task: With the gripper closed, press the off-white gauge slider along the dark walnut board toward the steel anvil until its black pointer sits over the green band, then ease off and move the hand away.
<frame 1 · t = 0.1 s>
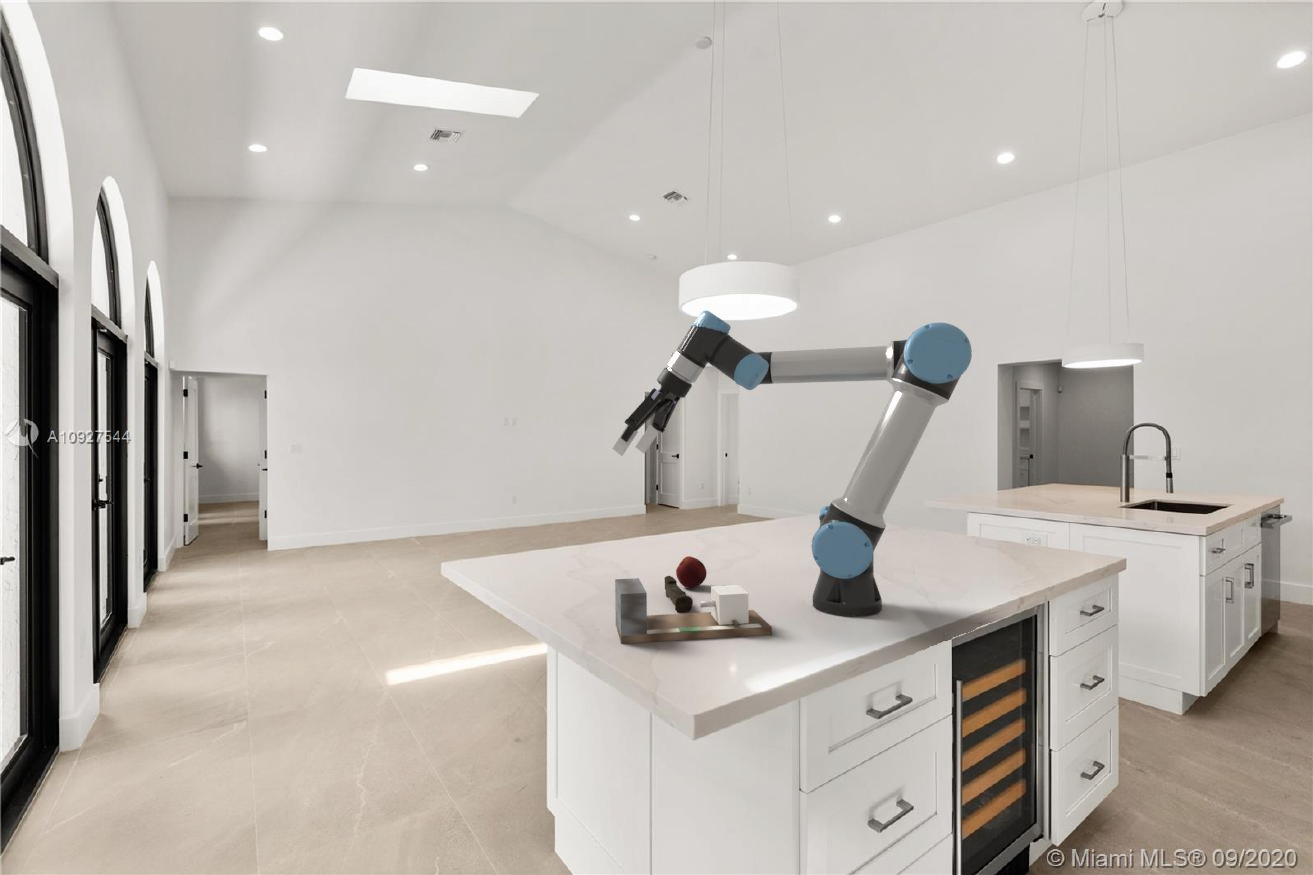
hand: (629, 451, 146), 36 cm above the counter, tool tilted 35°, fingers open, 13 cm apart
gauge slider: (723, 606, 128), point 5 cm above the counter, slide at 0.0 cm
hand tool: (673, 603, 149), on the counter
apple: (691, 588, 162), on the counter
gauge board: (691, 629, 128), on the counter
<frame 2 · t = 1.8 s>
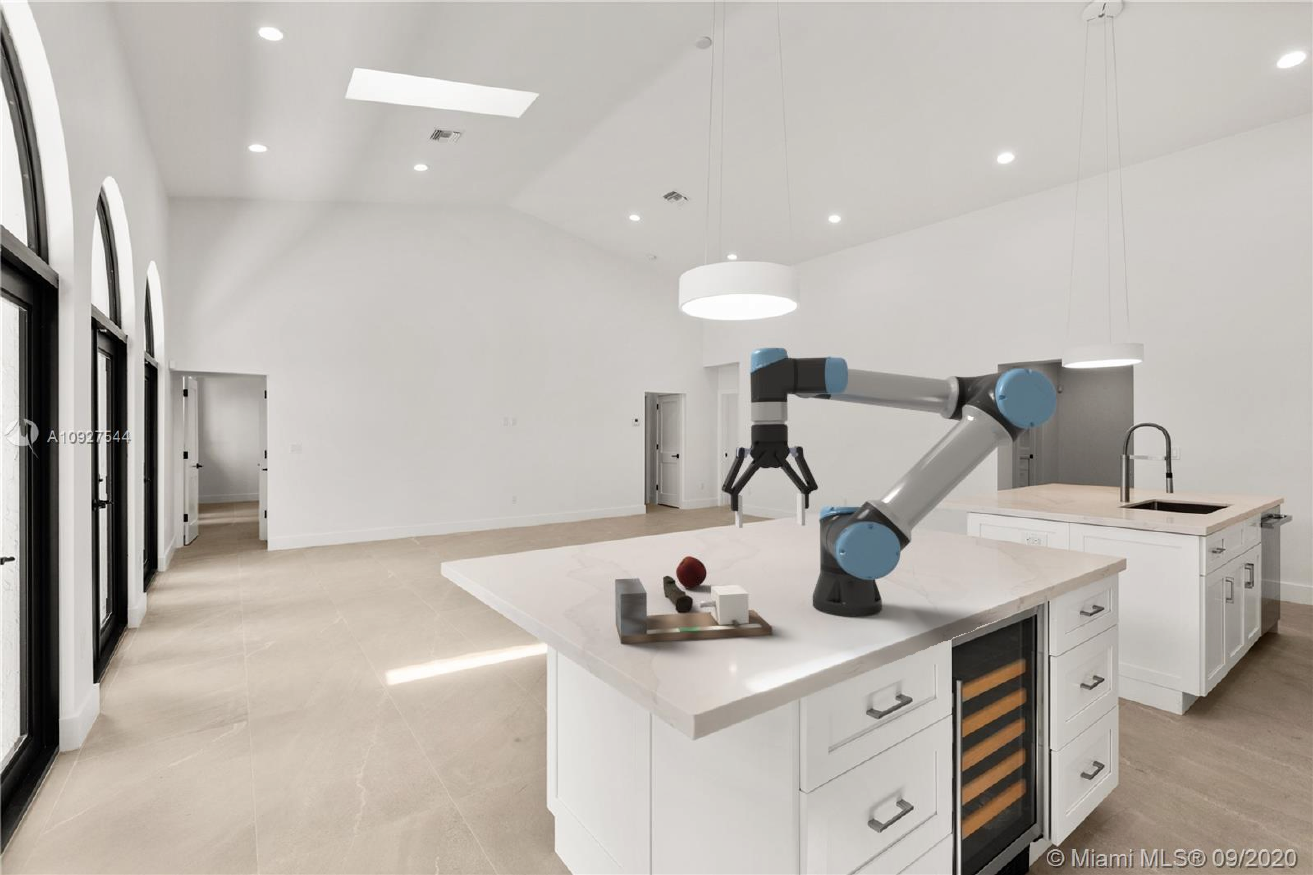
hand: (770, 526, 130), 21 cm above the counter, tool pointing down, fingers open, 13 cm apart
nothing on the counter moved.
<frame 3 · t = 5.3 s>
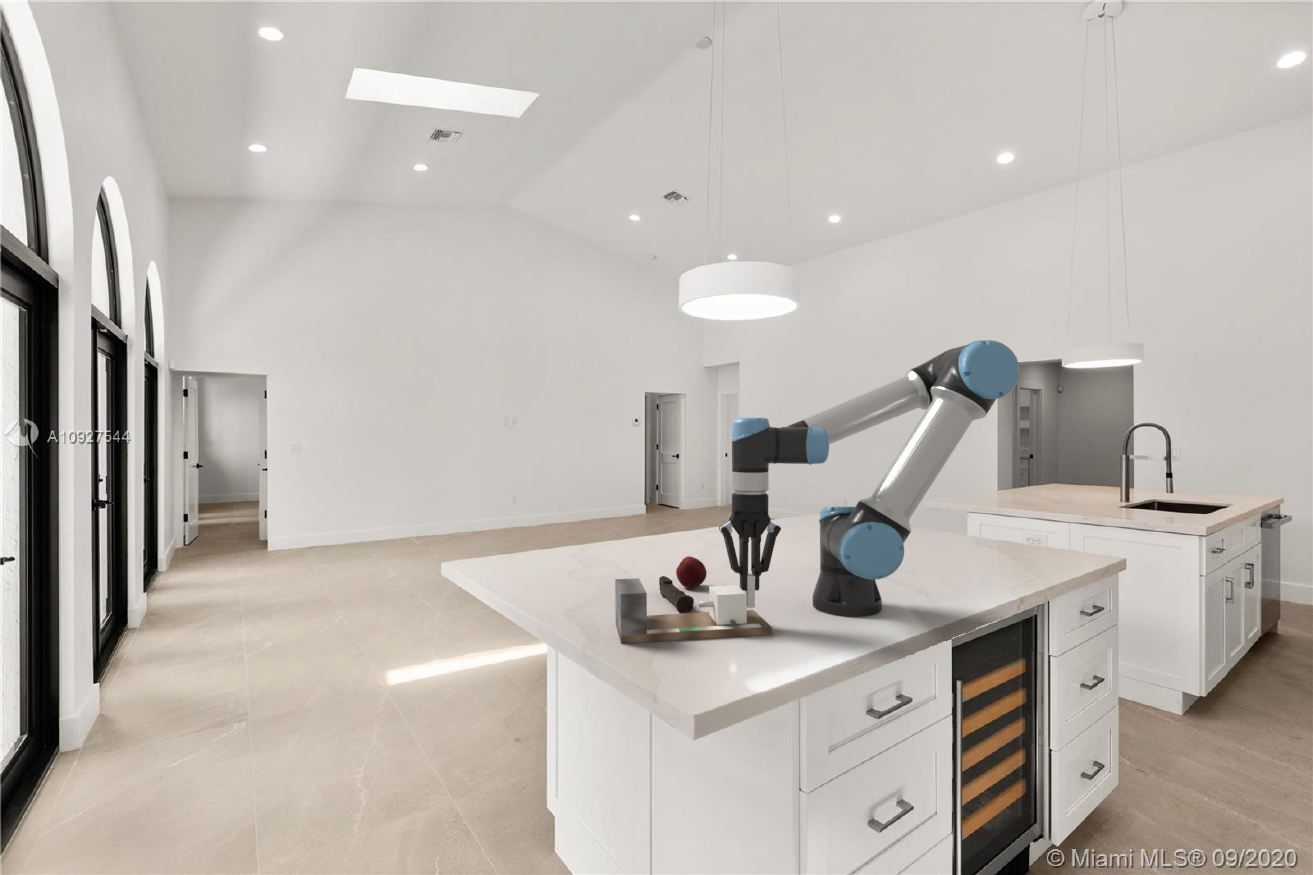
hand: (749, 605, 130), 4 cm above the counter, tool pointing down, fingers closed
gauge slider: (722, 606, 127), point 5 cm above the counter, slide at 0.4 cm, touching gripper
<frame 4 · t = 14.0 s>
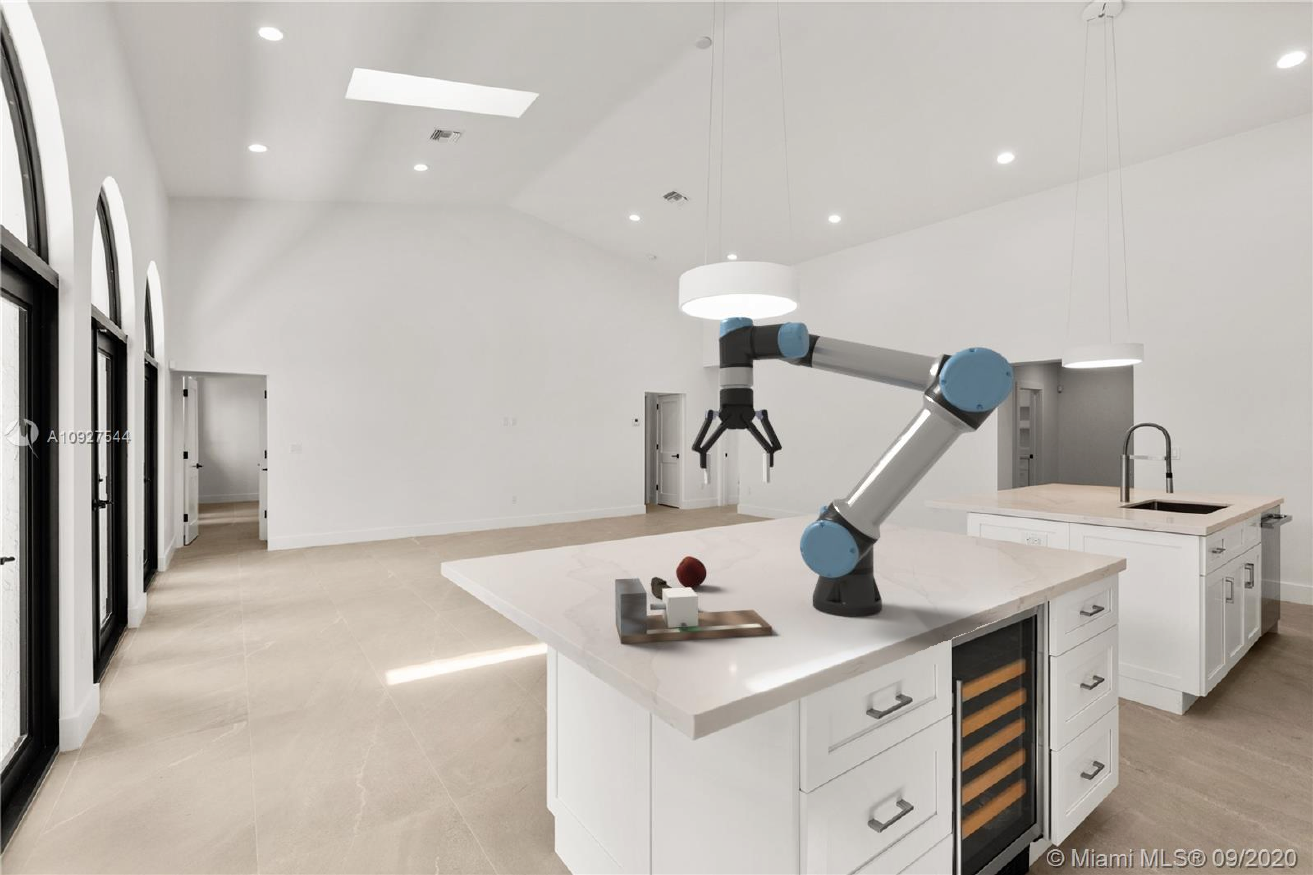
hand: (737, 483, 140), 29 cm above the counter, tool pointing down, fingers open, 13 cm apart
gauge slider: (673, 609, 126), point 5 cm above the counter, slide at 10.4 cm
at the end: gauge slider slide at 10.4 cm; hand tool moved 1.6 cm from its start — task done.
